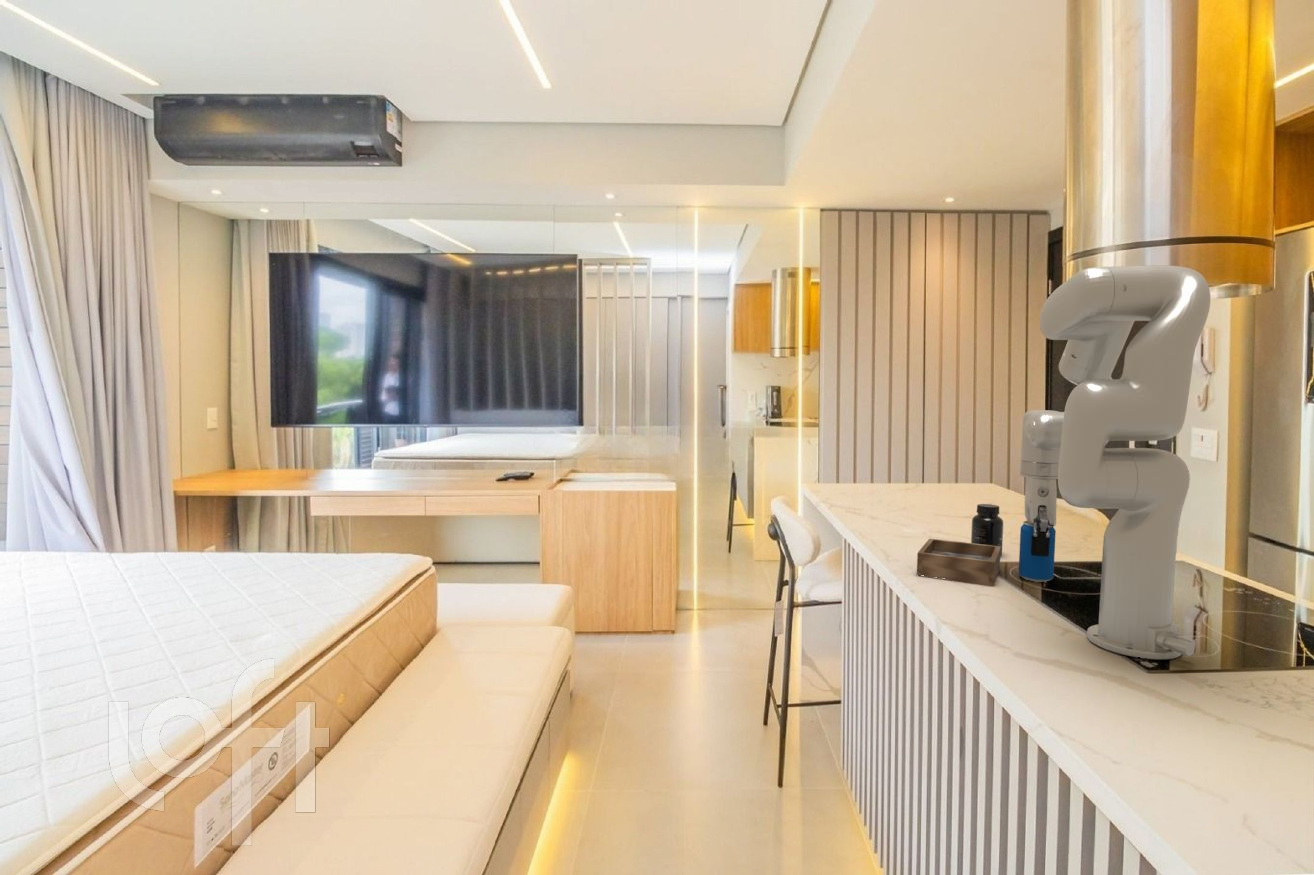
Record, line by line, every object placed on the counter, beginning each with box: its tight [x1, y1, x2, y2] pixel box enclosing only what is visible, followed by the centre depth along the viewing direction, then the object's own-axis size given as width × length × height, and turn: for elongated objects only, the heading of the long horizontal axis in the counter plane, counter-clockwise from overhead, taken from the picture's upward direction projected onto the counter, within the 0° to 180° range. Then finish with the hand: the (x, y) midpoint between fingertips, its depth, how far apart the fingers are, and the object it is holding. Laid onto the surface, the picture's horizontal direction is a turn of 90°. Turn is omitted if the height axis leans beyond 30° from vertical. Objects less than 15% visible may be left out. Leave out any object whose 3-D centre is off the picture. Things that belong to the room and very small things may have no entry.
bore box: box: [916, 538, 1001, 587], centre depth 152 cm, size 15×15×5 cm
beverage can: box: [1018, 520, 1057, 583], centre depth 146 cm, size 6×6×12 cm
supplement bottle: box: [970, 503, 1004, 557], centre depth 166 cm, size 7×7×12 cm
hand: (1036, 549), depth 146 cm, fingers open, 9 cm apart
